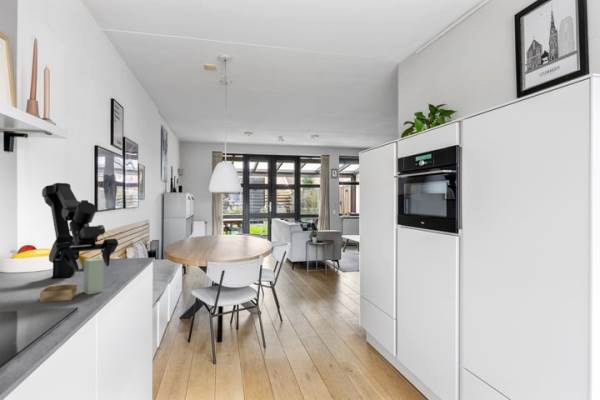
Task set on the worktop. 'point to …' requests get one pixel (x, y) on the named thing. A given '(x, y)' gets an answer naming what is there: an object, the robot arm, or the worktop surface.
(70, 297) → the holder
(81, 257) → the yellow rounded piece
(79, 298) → the worktop surface
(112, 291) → the worktop surface
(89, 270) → the post
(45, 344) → the worktop surface
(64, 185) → the robot arm
